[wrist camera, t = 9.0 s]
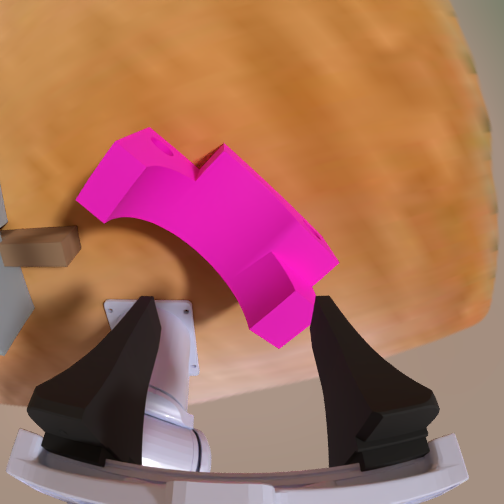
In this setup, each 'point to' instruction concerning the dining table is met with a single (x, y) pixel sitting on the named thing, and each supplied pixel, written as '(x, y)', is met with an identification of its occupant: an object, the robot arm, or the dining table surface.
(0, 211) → the slate plate
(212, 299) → the dining table surface
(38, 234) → the walnut rail
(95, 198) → the toy block
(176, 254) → the dining table surface
